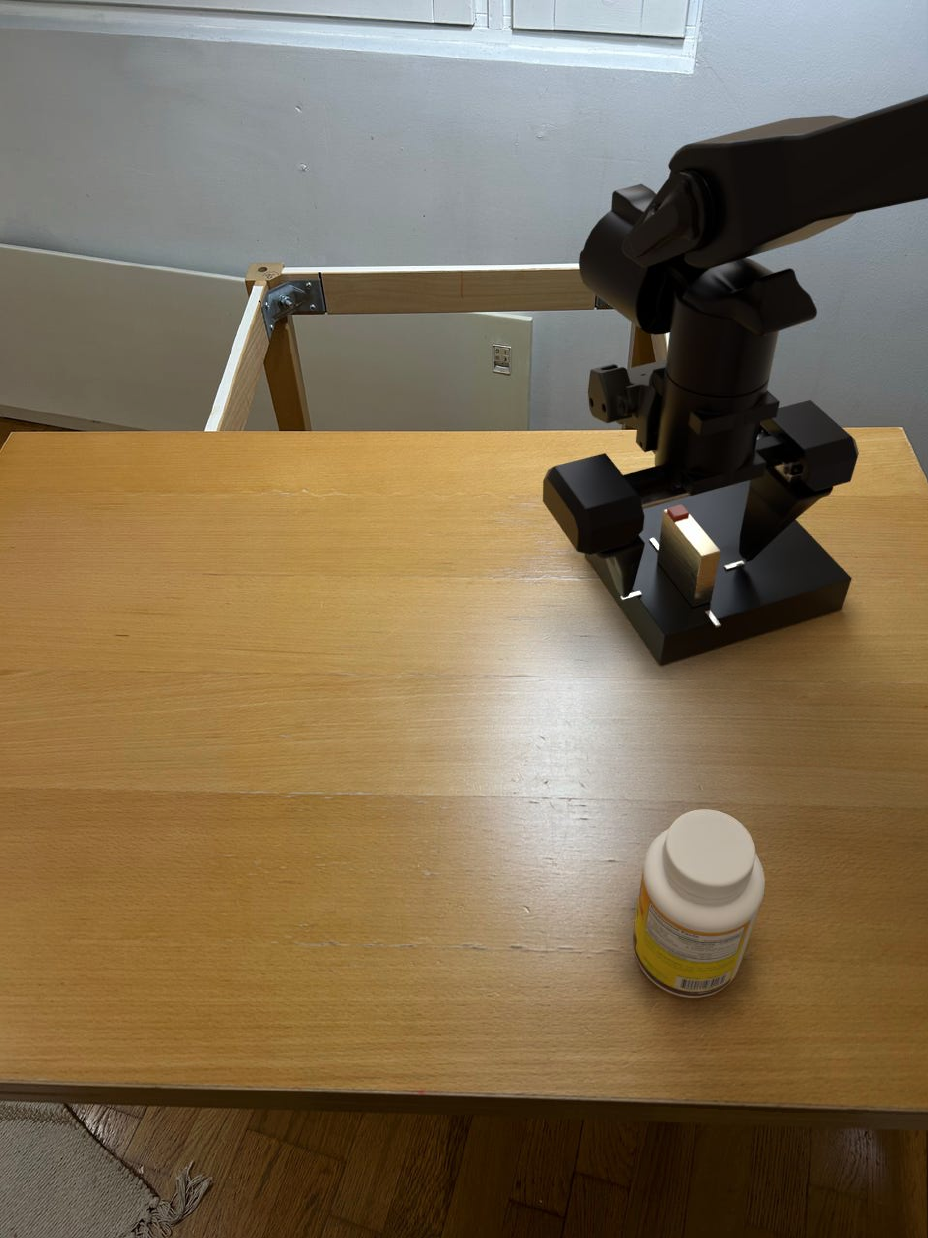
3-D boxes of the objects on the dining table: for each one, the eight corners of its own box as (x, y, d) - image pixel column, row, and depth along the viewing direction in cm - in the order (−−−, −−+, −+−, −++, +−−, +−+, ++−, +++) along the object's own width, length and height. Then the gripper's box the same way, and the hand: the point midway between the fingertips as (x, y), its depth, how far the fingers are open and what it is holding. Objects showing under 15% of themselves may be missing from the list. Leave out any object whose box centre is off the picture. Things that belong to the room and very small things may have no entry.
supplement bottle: (675, 882, 54) (699, 772, 47) (761, 951, 51) (800, 845, 44) (608, 950, 51) (622, 844, 44) (694, 1026, 48) (724, 927, 41)
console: (847, 615, 68) (858, 582, 65) (649, 677, 64) (654, 644, 62) (749, 508, 76) (756, 475, 74) (570, 558, 73) (571, 525, 71)
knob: (711, 602, 65) (721, 548, 61) (692, 607, 64) (701, 553, 61) (674, 555, 68) (682, 501, 65) (656, 560, 68) (663, 506, 64)
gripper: (782, 275, 62) (743, 474, 73) (507, 337, 58) (510, 537, 69) (894, 360, 55) (831, 567, 66) (587, 438, 51) (576, 644, 62)
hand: (684, 575), depth 66 cm, fingers open, 9 cm apart
